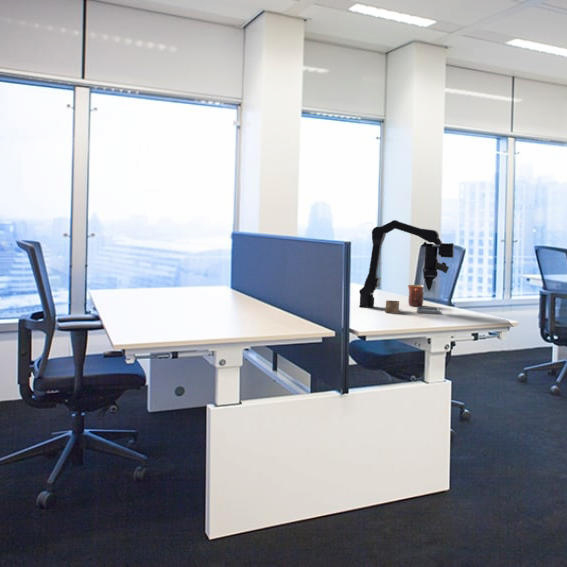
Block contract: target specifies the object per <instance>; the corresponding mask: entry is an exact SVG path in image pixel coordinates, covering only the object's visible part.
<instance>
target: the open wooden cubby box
mask: <svg viewBox="0 0 567 567" xmlns="http://www.w3.org/2000/svg"><path fill="white" fill-rule="evenodd" d="M399 309H400V301H399V300H387V299H386V301H385V314H386V313H387V314H400V310H399Z"/></svg>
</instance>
